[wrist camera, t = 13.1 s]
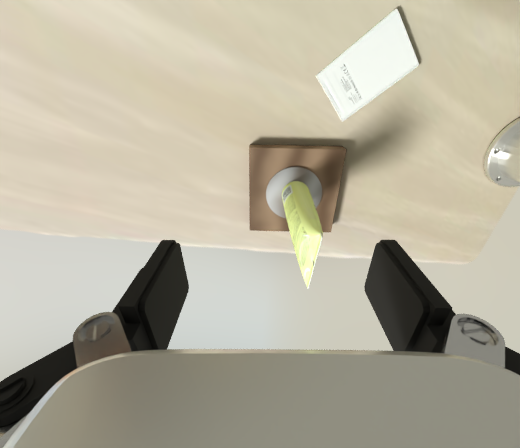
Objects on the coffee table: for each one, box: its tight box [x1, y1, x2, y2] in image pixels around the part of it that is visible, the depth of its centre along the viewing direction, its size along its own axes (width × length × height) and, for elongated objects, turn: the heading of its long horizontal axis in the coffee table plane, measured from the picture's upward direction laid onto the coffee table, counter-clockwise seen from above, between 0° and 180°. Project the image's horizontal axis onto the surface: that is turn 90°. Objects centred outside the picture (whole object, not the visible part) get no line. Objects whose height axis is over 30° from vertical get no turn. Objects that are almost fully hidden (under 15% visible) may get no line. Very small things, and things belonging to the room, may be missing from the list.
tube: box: [282, 181, 323, 288], centre depth 35 cm, size 6×5×20 cm
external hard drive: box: [316, 9, 419, 122], centre depth 36 cm, size 2×8×12 cm
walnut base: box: [249, 144, 346, 232], centre depth 45 cm, size 16×16×3 cm
